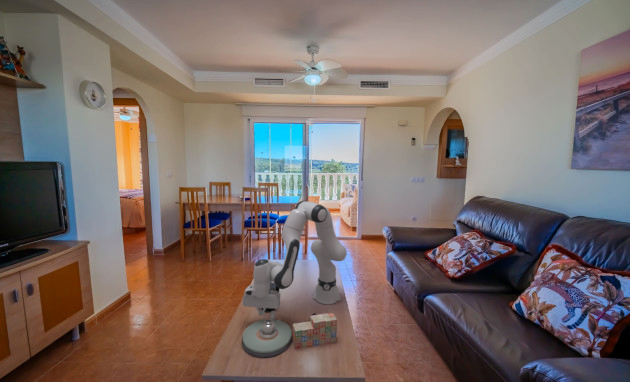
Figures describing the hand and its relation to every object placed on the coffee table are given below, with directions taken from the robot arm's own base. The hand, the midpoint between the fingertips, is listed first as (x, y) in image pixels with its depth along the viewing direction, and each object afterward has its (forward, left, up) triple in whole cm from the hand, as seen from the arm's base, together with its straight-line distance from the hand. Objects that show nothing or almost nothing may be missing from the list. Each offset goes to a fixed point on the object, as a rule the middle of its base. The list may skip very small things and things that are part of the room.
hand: (261, 314), depth 139 cm
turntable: (+11, +6, -5) cm, 13 cm away
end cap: (0, +30, -7) cm, 31 cm away
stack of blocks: (+9, +30, -7) cm, 32 cm away
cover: (+11, +7, -3) cm, 13 cm away
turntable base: (+11, +6, -6) cm, 14 cm away
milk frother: (-20, -4, -7) cm, 21 cm away
